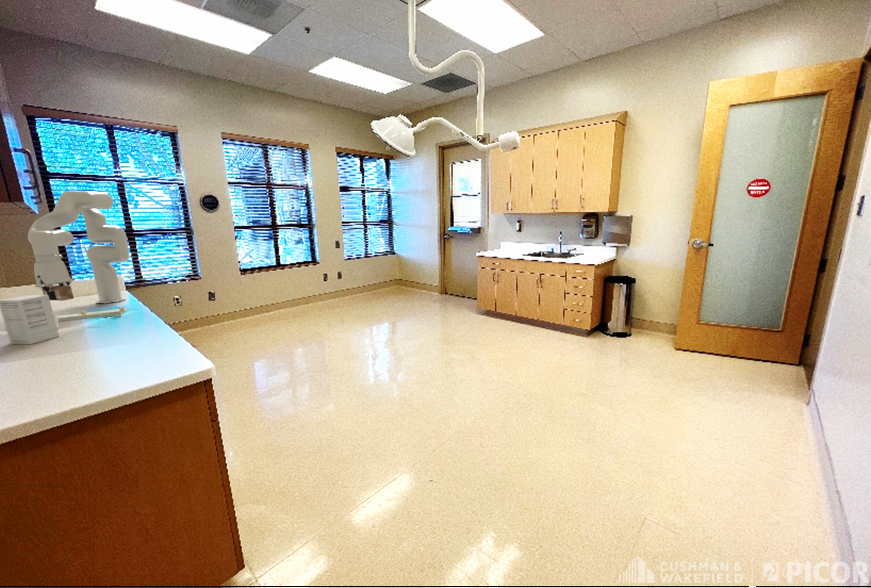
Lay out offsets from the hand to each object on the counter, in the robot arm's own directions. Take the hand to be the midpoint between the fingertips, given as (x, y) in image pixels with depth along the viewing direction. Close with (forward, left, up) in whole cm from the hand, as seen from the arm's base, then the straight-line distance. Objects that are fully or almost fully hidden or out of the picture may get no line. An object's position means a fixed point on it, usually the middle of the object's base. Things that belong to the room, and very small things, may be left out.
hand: (59, 297), depth 160 cm
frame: (0, 0, -1) cm, 1 cm away
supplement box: (+35, +1, -11) cm, 37 cm away
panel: (+2, +8, -10) cm, 13 cm away
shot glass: (+21, +1, -11) cm, 24 cm away
